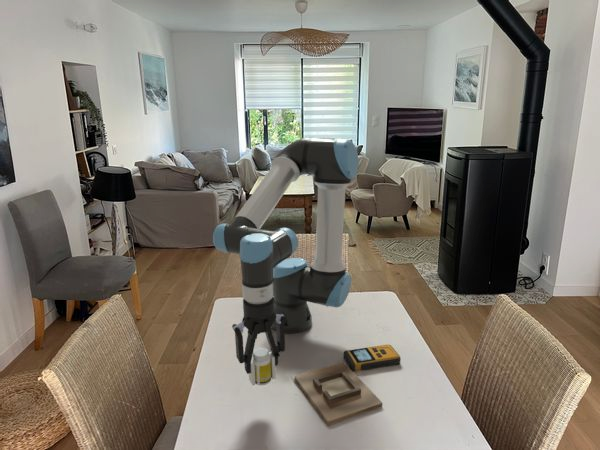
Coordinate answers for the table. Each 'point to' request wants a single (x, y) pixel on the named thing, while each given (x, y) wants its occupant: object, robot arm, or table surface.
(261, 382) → the supplement bottle
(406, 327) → the table surface
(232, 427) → the table surface
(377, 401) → the board
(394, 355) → the electronic device
